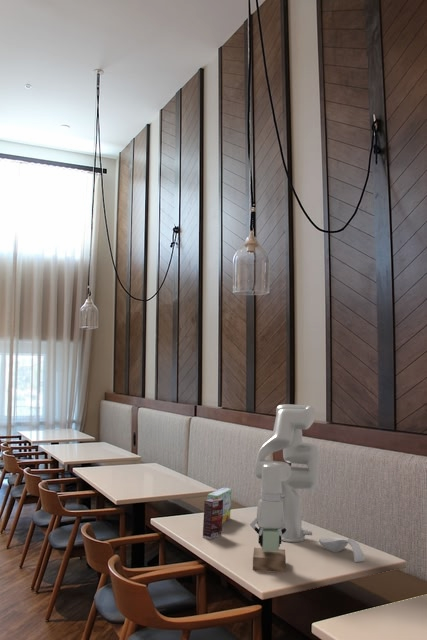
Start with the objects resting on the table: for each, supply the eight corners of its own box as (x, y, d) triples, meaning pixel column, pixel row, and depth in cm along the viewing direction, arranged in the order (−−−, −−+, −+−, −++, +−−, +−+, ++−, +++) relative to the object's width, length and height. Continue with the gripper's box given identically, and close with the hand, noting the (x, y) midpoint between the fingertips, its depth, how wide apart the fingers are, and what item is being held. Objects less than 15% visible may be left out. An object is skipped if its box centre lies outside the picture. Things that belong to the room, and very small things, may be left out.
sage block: (276, 546, 215) (276, 527, 215) (278, 551, 209) (279, 531, 210) (260, 546, 214) (261, 527, 215) (262, 550, 209) (263, 531, 209)
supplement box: (210, 539, 243) (212, 502, 245) (202, 537, 246) (203, 500, 248) (222, 535, 250) (223, 499, 252) (214, 533, 253) (215, 497, 255)
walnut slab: (284, 563, 216) (285, 549, 217) (285, 573, 204) (285, 559, 205) (253, 560, 217) (254, 547, 218) (252, 571, 206) (253, 557, 206)
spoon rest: (313, 546, 239) (313, 529, 240) (335, 544, 244) (336, 527, 244) (348, 564, 217) (348, 545, 218) (372, 561, 222) (372, 542, 223)
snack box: (216, 528, 262) (217, 495, 264) (205, 526, 264) (206, 494, 266) (231, 518, 282) (232, 488, 283) (220, 517, 284) (221, 486, 285)
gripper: (291, 495, 218) (290, 543, 216) (247, 494, 217) (246, 542, 215) (295, 499, 210) (294, 549, 208) (249, 498, 210) (248, 548, 208)
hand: (269, 545), depth 212 cm, fingers closed on sage block, 5 cm apart
